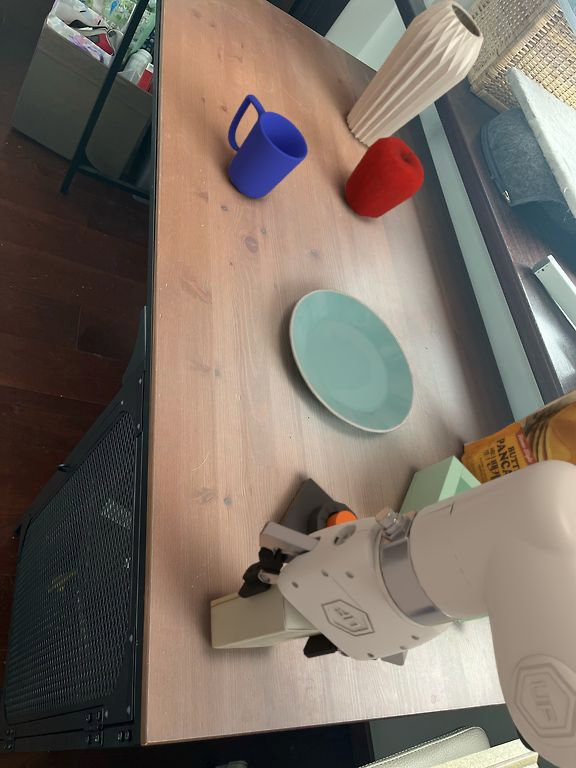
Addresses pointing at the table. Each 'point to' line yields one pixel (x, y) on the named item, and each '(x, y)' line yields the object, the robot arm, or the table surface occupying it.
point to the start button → (340, 518)
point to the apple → (384, 178)
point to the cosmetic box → (257, 620)
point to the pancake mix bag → (526, 441)
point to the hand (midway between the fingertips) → (280, 611)
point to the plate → (351, 361)
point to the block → (311, 509)
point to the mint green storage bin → (439, 488)
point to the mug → (264, 151)
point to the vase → (417, 71)
